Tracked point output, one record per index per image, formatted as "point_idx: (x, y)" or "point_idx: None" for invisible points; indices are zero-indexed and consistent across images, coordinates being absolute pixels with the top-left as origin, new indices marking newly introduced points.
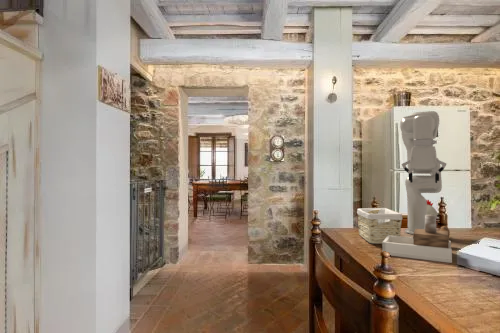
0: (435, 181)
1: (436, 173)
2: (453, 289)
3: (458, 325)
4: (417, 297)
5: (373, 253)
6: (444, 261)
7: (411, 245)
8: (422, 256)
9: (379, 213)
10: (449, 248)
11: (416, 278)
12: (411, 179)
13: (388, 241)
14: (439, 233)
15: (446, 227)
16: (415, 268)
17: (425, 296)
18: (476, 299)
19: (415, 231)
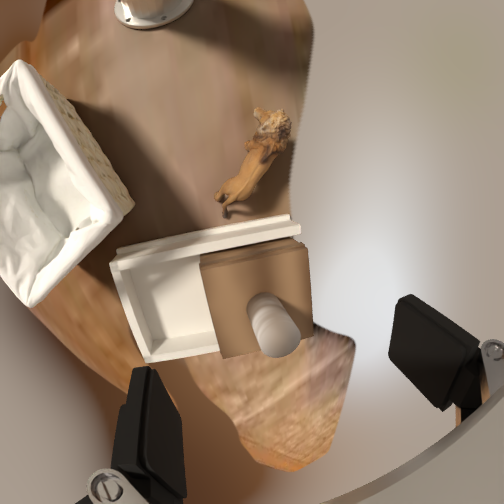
0: (395, 362)
1: (455, 395)
2: (303, 422)
3: (305, 464)
4: (271, 454)
5: (131, 349)
6: None
7: (217, 350)
8: None
9: (10, 102)
10: None
11: (257, 422)
12: (178, 445)
13: (135, 307)
14: (289, 309)
15: (286, 125)
16: (244, 390)
17: (277, 449)
18: (323, 427)
19: (217, 325)
